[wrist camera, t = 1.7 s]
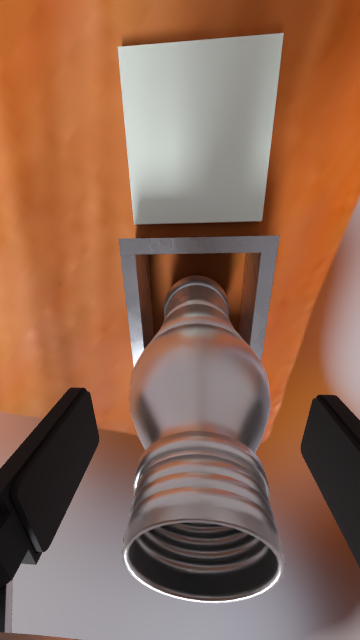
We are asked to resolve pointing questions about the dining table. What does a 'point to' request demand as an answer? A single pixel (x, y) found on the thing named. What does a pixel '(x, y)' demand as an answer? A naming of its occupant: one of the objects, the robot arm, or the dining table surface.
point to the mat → (200, 127)
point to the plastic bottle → (201, 457)
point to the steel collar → (137, 263)
